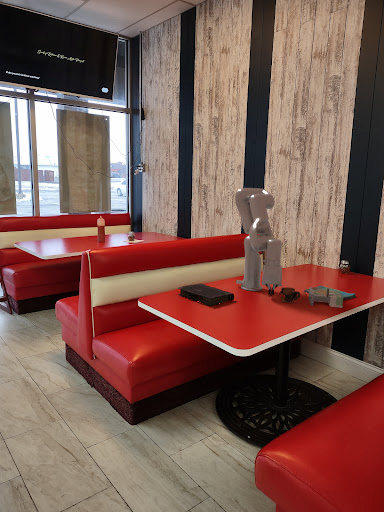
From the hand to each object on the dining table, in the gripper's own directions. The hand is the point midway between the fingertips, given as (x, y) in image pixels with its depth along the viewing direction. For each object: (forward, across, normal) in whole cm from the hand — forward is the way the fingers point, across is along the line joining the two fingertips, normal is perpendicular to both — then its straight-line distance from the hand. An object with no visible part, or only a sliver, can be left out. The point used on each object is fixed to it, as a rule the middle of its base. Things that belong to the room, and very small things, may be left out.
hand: (270, 295), depth 206 cm
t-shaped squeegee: (+1, +26, 0) cm, 26 cm away
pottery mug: (+2, +10, -1) cm, 10 cm away
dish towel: (+2, +33, +19) cm, 38 cm away
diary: (+2, -34, -9) cm, 36 cm away
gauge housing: (+2, +33, 0) cm, 33 cm away
